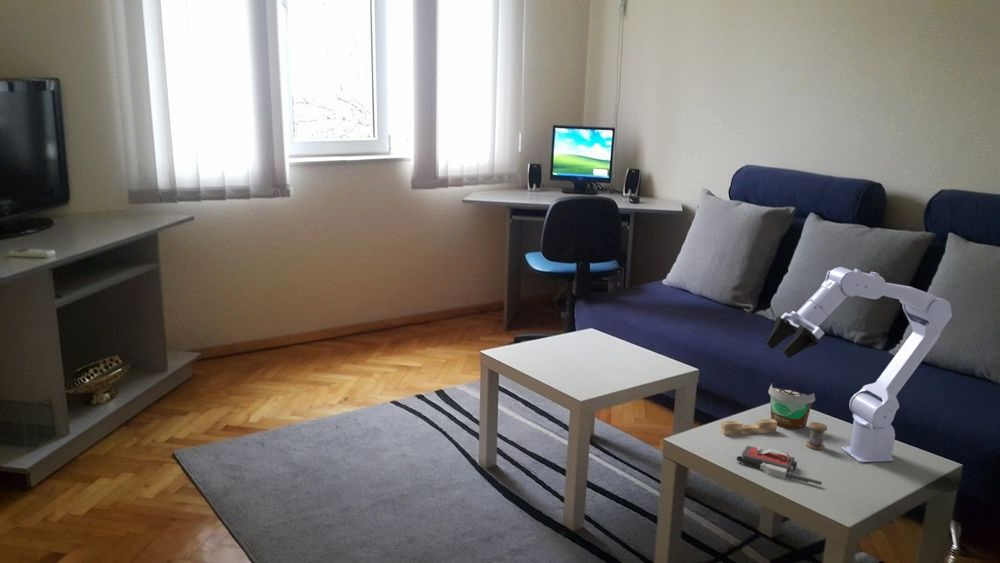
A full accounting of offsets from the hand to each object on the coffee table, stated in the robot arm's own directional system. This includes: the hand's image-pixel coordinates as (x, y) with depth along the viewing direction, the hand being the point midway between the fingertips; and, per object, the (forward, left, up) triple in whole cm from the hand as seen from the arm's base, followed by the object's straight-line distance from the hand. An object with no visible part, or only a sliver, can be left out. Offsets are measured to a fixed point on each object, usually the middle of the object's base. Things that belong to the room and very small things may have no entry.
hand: (777, 350), depth 181 cm
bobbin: (-19, -8, -29) cm, 36 cm away
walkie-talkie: (-3, +3, -30) cm, 30 cm away
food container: (-18, -21, -30) cm, 40 cm away
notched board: (-5, -18, -29) cm, 35 cm away
